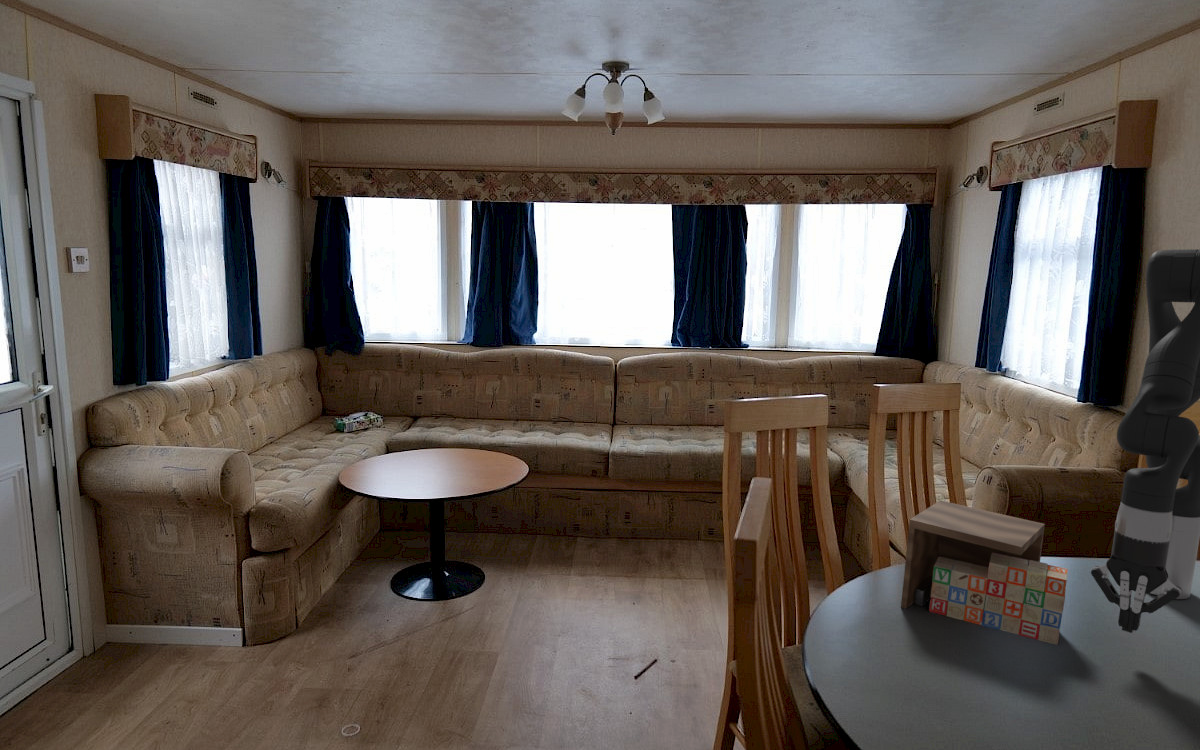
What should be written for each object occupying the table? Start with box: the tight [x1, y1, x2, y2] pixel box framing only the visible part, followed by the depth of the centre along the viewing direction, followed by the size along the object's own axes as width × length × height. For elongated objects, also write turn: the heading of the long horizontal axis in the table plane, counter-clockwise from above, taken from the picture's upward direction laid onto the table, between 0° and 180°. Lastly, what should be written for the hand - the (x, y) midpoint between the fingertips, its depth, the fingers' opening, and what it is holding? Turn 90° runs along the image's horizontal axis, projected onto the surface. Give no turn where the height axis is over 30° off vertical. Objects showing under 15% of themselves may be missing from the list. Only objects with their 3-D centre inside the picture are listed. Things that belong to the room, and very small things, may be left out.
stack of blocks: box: [928, 553, 1068, 645], centre depth 142 cm, size 21×6×12 cm, turn 58°
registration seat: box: [913, 575, 933, 607], centre depth 152 cm, size 10×2×3 cm, turn 138°
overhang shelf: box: [900, 500, 1046, 610], centre depth 146 cm, size 17×19×18 cm
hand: (1127, 630), depth 130 cm, fingers closed
